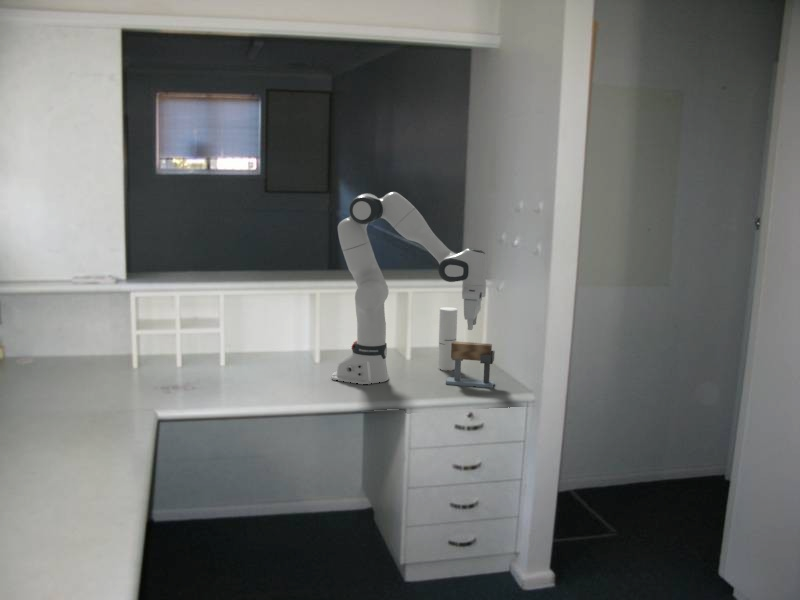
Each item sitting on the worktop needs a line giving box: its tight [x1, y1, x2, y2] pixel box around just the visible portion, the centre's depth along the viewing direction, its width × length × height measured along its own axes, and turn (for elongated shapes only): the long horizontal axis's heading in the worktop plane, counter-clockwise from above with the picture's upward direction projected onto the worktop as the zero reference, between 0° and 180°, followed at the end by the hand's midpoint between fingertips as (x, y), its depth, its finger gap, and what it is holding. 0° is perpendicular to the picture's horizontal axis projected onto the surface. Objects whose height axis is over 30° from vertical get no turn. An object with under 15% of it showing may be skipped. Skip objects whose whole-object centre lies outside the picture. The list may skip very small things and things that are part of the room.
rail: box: [451, 340, 493, 362], centre depth 306 cm, size 15×4×6 cm, turn 77°
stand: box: [445, 350, 495, 389], centre depth 307 cm, size 18×7×13 cm, turn 77°
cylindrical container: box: [437, 306, 458, 371], centre depth 328 cm, size 7×7×25 cm
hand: (471, 327), depth 304 cm, fingers open, 8 cm apart
